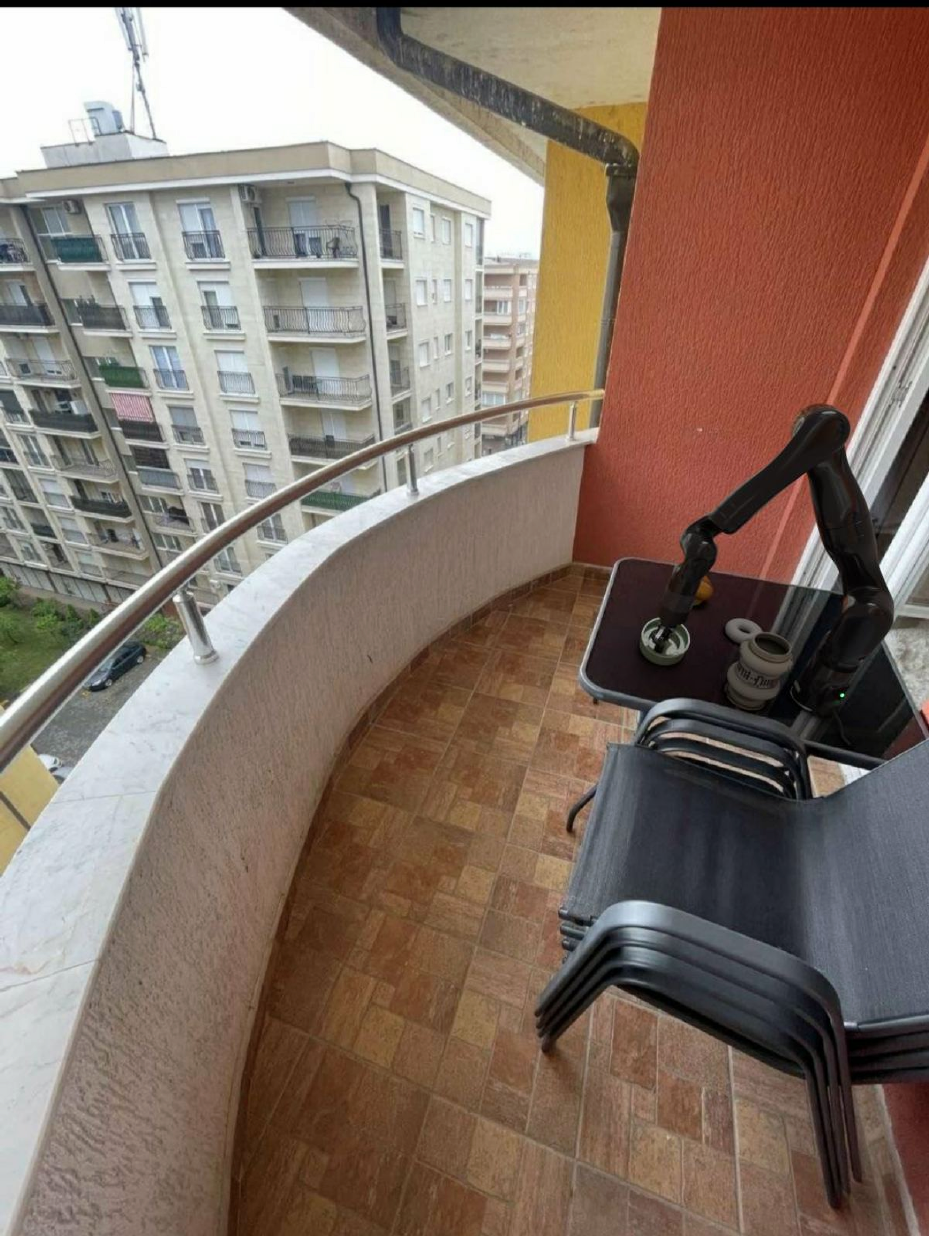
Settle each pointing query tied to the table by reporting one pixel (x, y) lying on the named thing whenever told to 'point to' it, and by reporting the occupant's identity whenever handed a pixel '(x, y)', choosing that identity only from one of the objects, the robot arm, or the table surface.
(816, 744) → the table surface
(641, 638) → the bowl
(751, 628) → the donut
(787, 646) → the apothecary jar
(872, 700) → the table surface
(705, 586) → the cheeseburger
